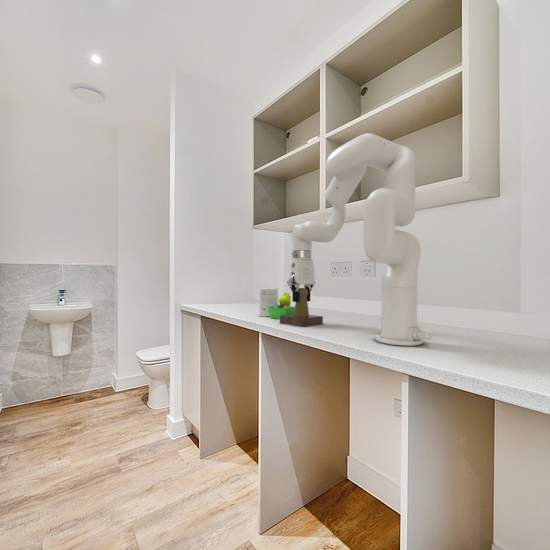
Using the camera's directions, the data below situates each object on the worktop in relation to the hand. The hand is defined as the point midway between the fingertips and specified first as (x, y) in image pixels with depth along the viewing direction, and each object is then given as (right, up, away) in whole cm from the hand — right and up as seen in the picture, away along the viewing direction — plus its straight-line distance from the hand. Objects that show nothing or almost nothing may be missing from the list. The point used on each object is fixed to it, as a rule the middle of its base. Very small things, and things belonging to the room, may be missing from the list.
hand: (301, 301), depth 123 cm
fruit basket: (-7, -9, +15) cm, 19 cm away
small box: (-14, -9, +24) cm, 29 cm away
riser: (0, -9, 0) cm, 9 cm away
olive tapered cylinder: (0, -6, 0) cm, 6 cm away
